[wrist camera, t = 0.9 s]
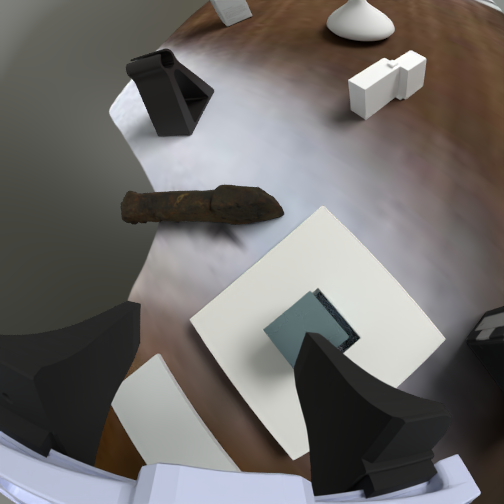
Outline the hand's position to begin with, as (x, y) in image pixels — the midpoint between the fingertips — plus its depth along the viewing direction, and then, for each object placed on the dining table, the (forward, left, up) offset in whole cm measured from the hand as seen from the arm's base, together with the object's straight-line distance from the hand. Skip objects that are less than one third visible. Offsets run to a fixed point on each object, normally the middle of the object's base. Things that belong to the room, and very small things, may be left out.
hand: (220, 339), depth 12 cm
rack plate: (-1, -2, -14) cm, 14 cm away
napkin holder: (+12, -29, -15) cm, 34 cm away
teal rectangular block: (-1, -2, -14) cm, 14 cm away
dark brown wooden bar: (+17, -1, -15) cm, 22 cm away
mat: (-1, +17, -14) cm, 22 cm away
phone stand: (+33, -8, -14) cm, 37 cm away
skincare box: (+52, -31, -14) cm, 62 cm away
